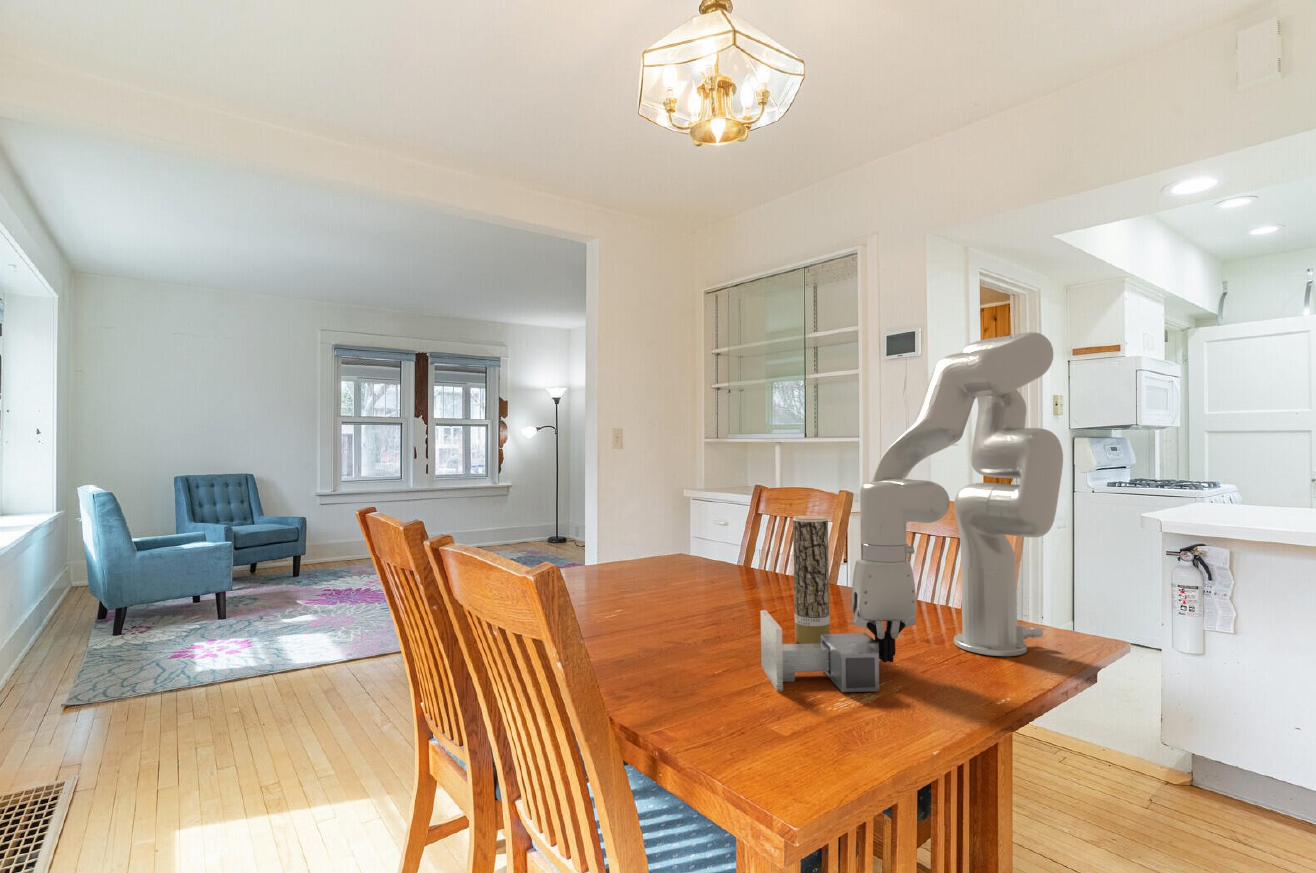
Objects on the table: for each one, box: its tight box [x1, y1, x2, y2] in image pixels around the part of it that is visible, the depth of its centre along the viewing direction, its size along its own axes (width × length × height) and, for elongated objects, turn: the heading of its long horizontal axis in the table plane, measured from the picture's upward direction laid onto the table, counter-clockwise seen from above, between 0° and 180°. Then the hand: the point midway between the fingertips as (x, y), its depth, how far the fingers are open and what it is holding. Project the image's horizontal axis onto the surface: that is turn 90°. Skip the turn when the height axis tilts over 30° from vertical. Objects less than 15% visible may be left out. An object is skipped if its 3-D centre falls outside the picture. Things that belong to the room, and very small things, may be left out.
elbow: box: [821, 632, 880, 693], centre depth 109 cm, size 8×11×6 cm
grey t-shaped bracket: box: [760, 609, 831, 692], centre depth 112 cm, size 11×12×10 cm
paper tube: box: [792, 515, 831, 644], centre depth 131 cm, size 7×7×25 cm
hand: (885, 659), depth 113 cm, fingers closed
